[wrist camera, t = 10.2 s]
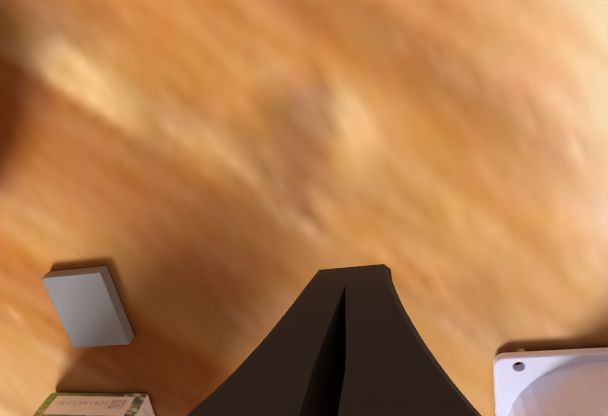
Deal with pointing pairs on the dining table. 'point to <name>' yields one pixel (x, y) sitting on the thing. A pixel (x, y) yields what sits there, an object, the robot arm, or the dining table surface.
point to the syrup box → (96, 404)
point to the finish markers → (88, 307)
